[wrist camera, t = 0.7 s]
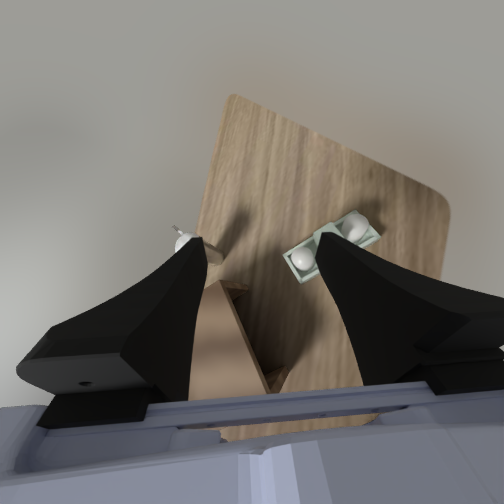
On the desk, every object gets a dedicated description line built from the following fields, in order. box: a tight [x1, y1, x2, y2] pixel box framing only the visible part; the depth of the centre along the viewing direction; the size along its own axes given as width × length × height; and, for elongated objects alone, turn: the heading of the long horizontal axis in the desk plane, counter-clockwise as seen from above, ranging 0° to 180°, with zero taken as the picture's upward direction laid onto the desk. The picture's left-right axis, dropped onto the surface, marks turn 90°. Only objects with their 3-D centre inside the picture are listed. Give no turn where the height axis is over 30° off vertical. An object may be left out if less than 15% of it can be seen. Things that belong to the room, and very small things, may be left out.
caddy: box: [283, 209, 381, 284], centre depth 24 cm, size 5×12×7 cm, turn 118°
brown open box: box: [188, 280, 289, 430], centre depth 25 cm, size 14×11×9 cm
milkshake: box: [172, 225, 224, 266], centre depth 30 cm, size 5×5×10 cm
